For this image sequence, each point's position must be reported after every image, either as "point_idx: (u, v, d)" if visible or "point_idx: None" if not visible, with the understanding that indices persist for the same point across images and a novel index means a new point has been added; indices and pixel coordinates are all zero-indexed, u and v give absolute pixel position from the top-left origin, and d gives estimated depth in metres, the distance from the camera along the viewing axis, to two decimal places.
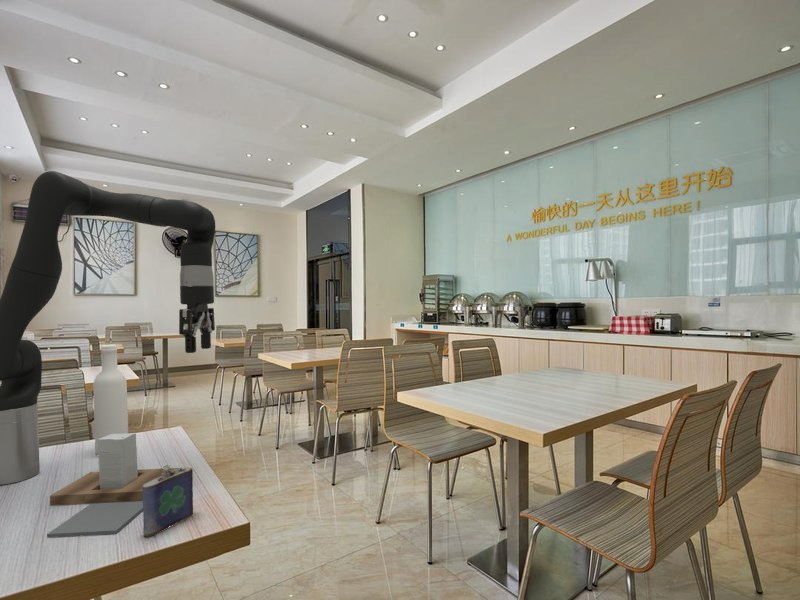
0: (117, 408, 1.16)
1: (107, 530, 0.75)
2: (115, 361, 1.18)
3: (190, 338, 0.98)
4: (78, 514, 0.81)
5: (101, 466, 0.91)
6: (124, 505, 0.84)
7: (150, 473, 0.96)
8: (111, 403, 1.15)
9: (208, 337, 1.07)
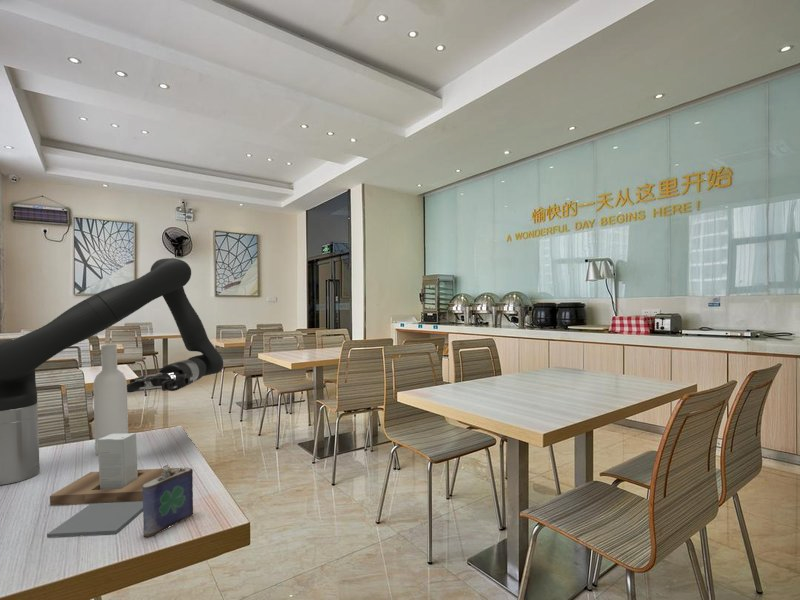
0: (117, 408, 1.16)
1: (107, 530, 0.75)
2: (115, 361, 1.18)
3: (174, 385, 1.08)
4: (78, 514, 0.81)
5: (101, 466, 0.91)
6: (124, 505, 0.84)
7: (150, 473, 0.96)
8: (111, 403, 1.15)
9: (137, 388, 1.07)
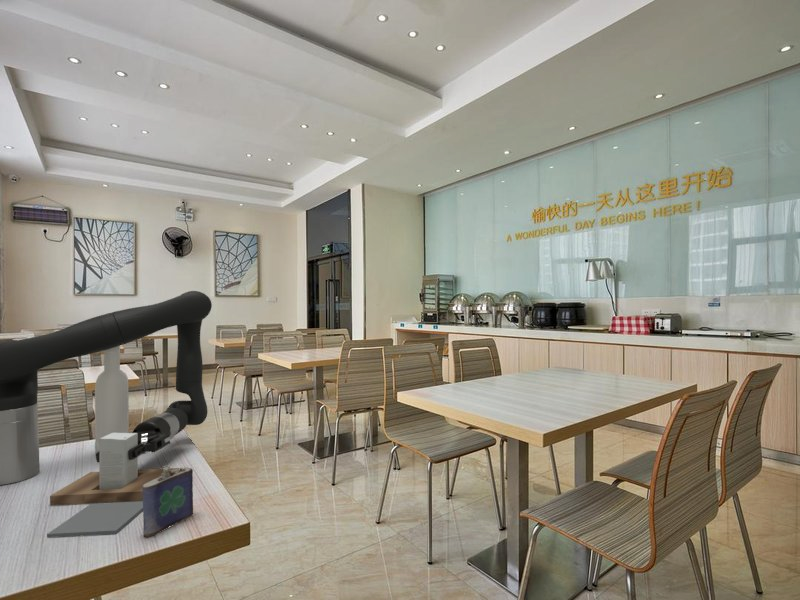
0: (116, 410, 1.15)
1: (107, 530, 0.75)
2: (117, 362, 1.16)
3: (144, 451, 0.94)
4: (78, 514, 0.81)
5: (102, 465, 0.90)
6: (124, 505, 0.84)
7: (150, 473, 0.96)
8: (110, 405, 1.14)
9: None
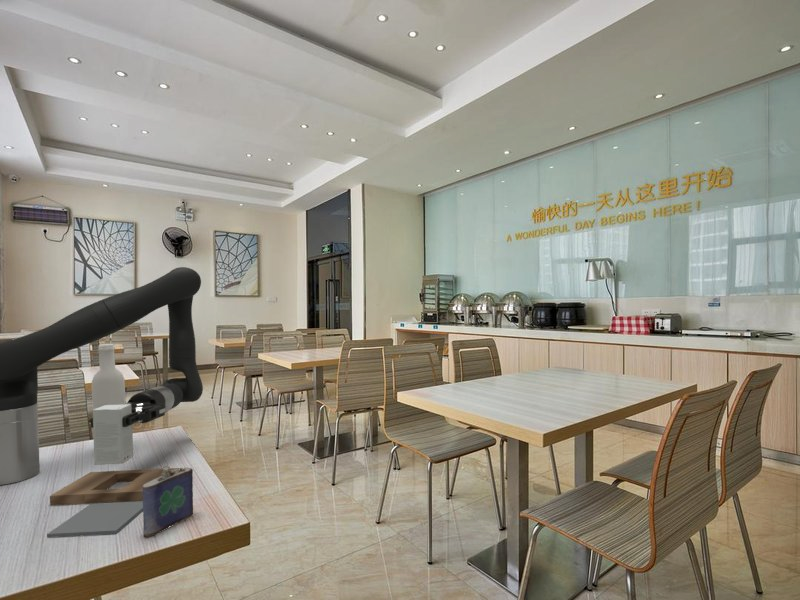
0: None
1: (107, 530, 0.75)
2: (112, 360, 1.19)
3: (138, 419, 0.94)
4: (78, 514, 0.81)
5: (96, 437, 0.90)
6: (124, 505, 0.84)
7: (150, 473, 0.96)
8: (107, 401, 1.15)
9: None
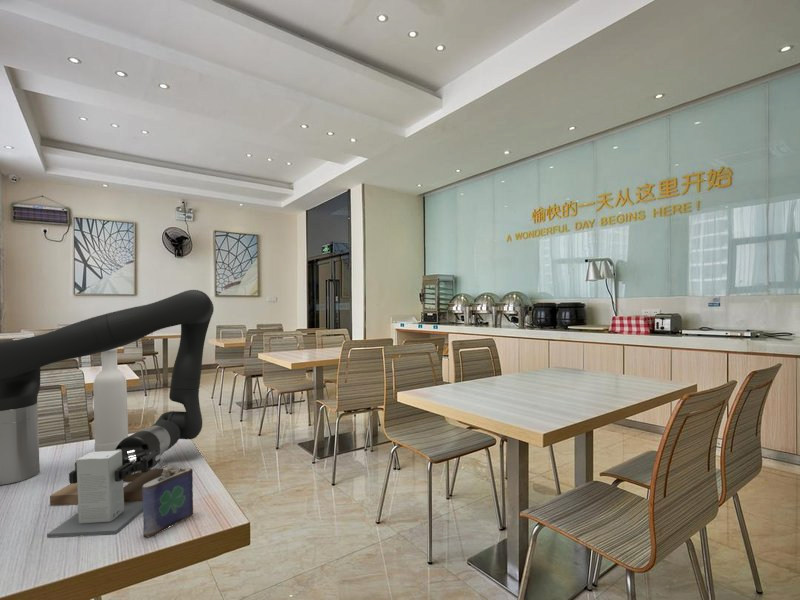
0: (115, 409, 1.16)
1: (107, 530, 0.75)
2: (114, 361, 1.18)
3: (133, 471, 0.82)
4: None
5: (81, 491, 0.77)
6: (124, 505, 0.84)
7: (150, 473, 0.96)
8: (108, 403, 1.15)
9: None
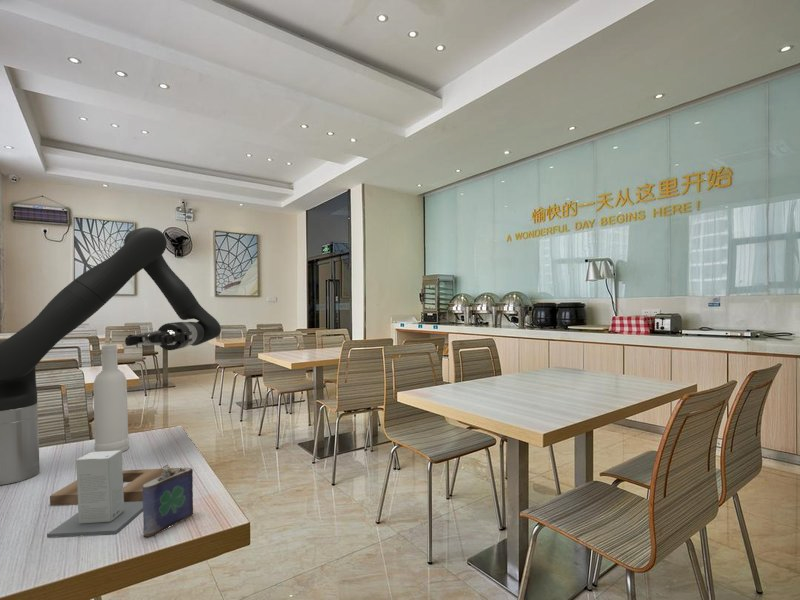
0: (115, 409, 1.16)
1: (107, 530, 0.75)
2: (115, 361, 1.18)
3: (174, 340, 1.06)
4: None
5: (81, 491, 0.77)
6: (124, 505, 0.84)
7: (150, 473, 0.96)
8: (108, 403, 1.15)
9: (135, 343, 1.06)
